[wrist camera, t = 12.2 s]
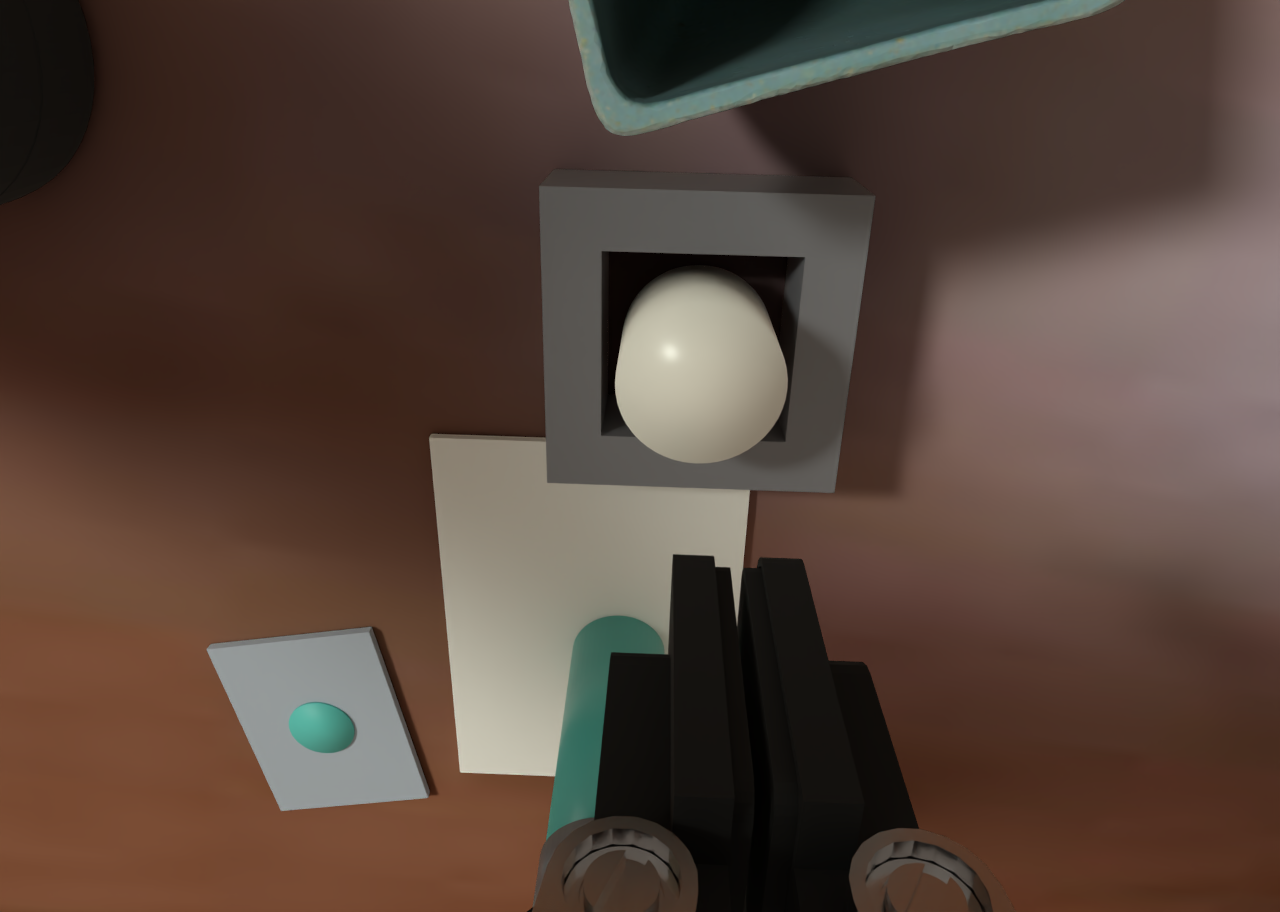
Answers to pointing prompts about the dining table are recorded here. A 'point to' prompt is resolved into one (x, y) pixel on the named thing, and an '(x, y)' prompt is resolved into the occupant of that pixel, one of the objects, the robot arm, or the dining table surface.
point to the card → (321, 718)
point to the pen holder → (41, 91)
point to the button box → (701, 224)
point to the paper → (551, 582)
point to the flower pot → (771, 47)
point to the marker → (587, 723)
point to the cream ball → (699, 366)
